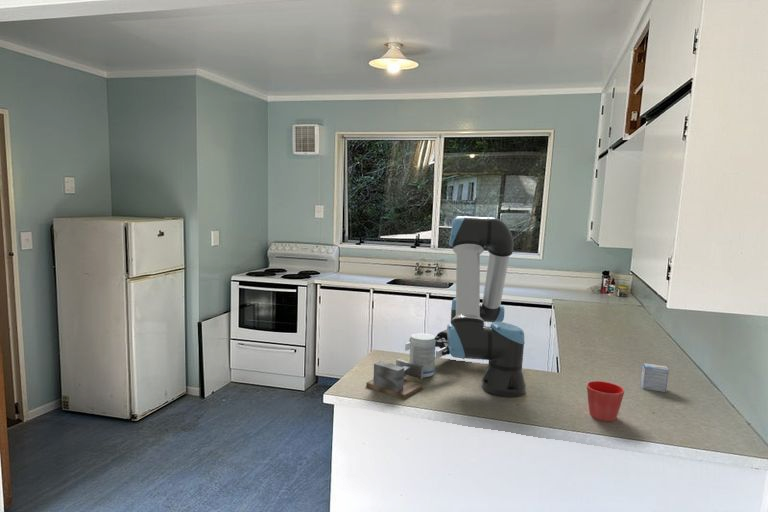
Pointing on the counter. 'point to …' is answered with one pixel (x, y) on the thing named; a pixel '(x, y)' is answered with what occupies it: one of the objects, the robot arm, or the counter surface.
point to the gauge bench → (402, 393)
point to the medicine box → (654, 377)
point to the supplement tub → (423, 352)
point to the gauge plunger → (411, 368)
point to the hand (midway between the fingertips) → (420, 350)
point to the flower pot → (604, 400)
